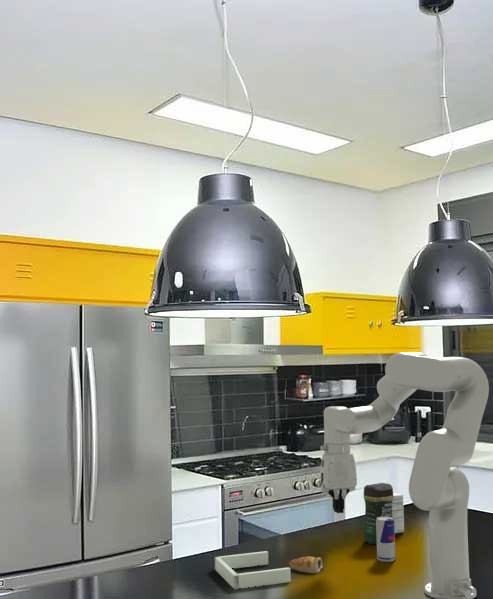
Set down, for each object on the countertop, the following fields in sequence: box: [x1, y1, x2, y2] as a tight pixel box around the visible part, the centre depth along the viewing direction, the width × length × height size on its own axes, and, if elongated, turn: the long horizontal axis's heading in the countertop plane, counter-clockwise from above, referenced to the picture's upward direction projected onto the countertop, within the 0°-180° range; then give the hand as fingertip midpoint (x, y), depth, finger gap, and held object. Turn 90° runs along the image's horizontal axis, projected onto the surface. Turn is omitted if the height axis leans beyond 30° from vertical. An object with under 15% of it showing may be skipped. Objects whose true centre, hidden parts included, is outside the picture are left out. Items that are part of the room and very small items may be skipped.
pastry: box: [288, 555, 324, 574], centre depth 202 cm, size 9×7×4 cm
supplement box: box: [392, 491, 405, 534], centre depth 243 cm, size 7×7×13 cm
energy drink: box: [376, 516, 397, 563], centre depth 210 cm, size 5×5×12 cm
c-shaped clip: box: [214, 550, 292, 590], centre depth 197 cm, size 18×16×4 cm
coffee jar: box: [363, 482, 394, 545], centre depth 229 cm, size 10×8×19 cm
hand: (338, 512), depth 207 cm, fingers closed
